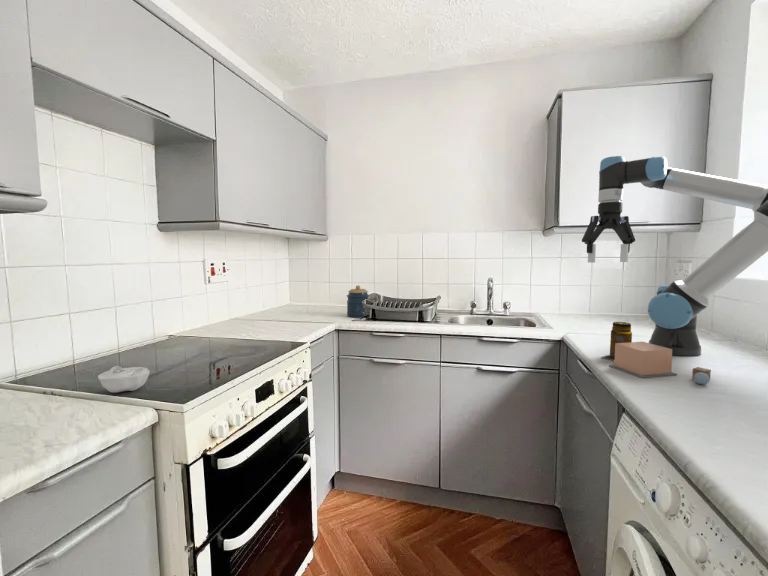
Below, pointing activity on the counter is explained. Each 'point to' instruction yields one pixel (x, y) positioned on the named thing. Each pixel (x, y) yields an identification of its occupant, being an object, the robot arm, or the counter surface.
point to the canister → (356, 302)
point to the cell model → (123, 378)
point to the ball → (701, 378)
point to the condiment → (619, 337)
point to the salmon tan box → (643, 358)
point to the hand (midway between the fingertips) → (607, 262)
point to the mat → (643, 375)
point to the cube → (703, 370)
